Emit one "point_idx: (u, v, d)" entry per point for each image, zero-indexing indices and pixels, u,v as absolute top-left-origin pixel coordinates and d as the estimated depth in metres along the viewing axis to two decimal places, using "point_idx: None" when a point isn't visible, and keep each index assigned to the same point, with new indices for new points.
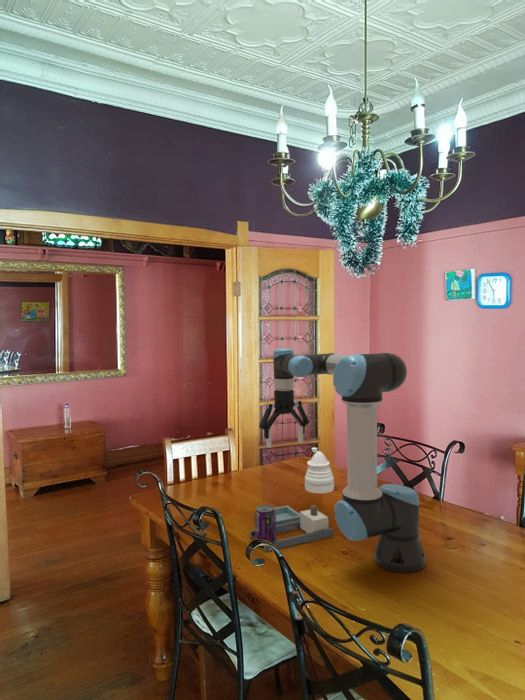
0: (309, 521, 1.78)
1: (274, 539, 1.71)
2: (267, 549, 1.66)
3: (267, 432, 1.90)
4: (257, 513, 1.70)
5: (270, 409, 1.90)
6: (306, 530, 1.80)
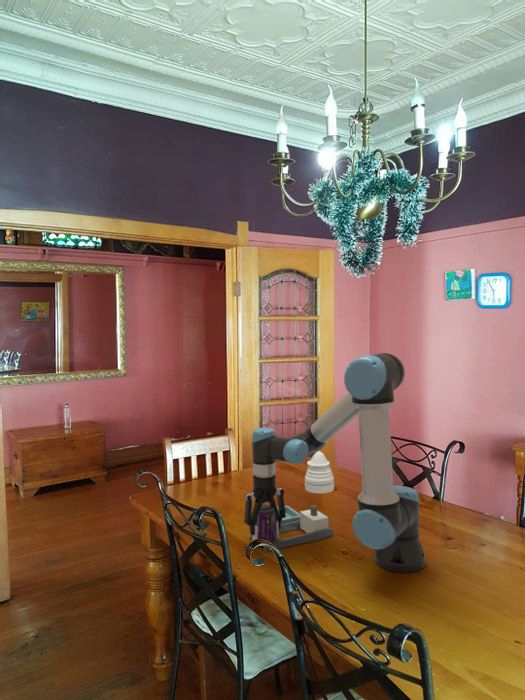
0: (309, 521, 1.78)
1: (274, 539, 1.71)
2: (267, 549, 1.66)
3: (253, 528, 1.70)
4: None
5: (250, 501, 1.68)
6: (306, 530, 1.80)
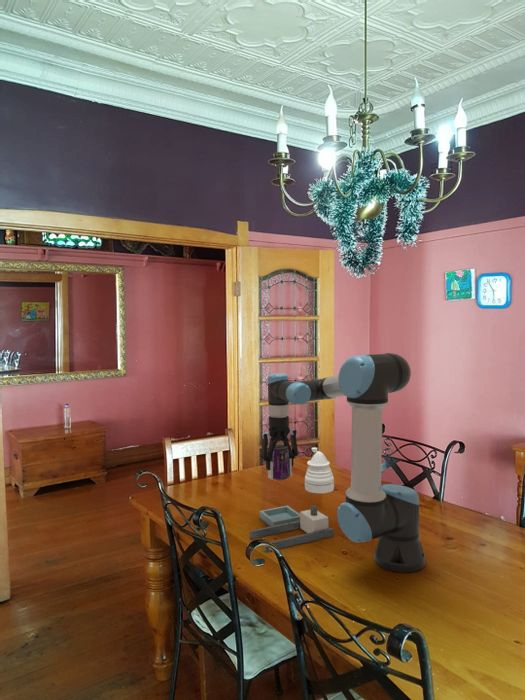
0: (309, 521, 1.78)
1: (288, 474, 1.88)
2: (267, 549, 1.66)
3: (269, 463, 1.87)
4: None
5: (266, 439, 1.85)
6: (306, 530, 1.80)
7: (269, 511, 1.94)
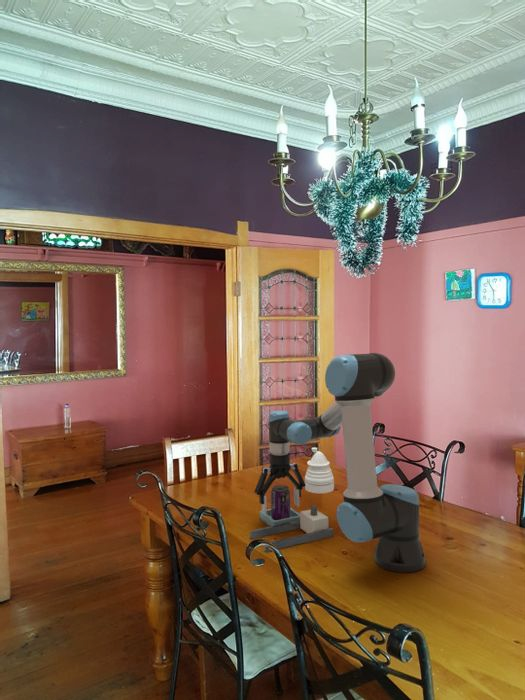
0: (309, 521, 1.78)
1: (288, 515, 1.89)
2: (267, 549, 1.66)
3: (262, 497, 1.87)
4: (273, 492, 1.88)
5: (265, 474, 1.86)
6: (306, 530, 1.80)
7: (269, 511, 1.94)
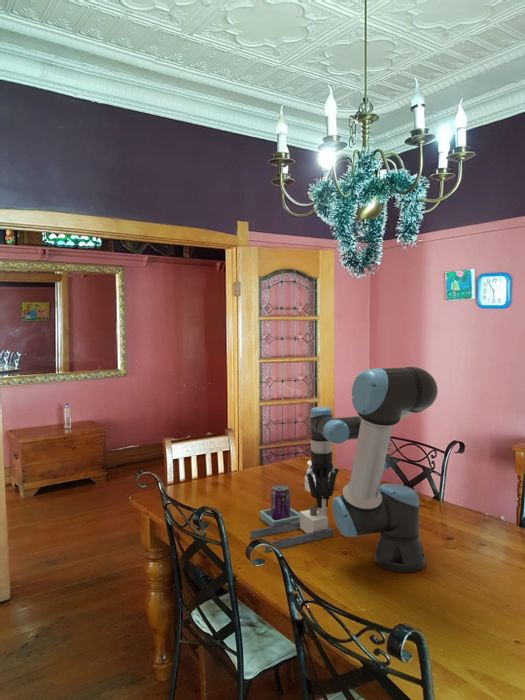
0: (309, 521, 1.77)
1: (288, 515, 1.89)
2: (267, 549, 1.66)
3: (320, 501, 1.81)
4: (273, 492, 1.88)
5: (311, 478, 1.78)
6: (306, 530, 1.80)
7: (269, 511, 1.94)
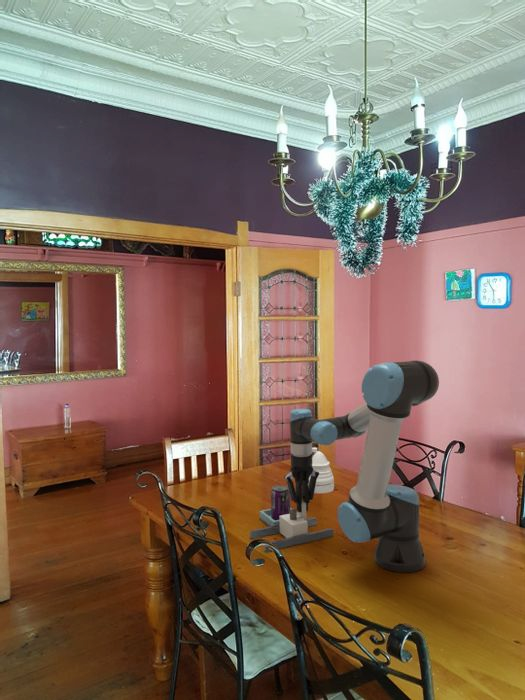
0: (288, 526, 1.74)
1: None
2: (267, 549, 1.66)
3: (300, 505, 1.77)
4: (273, 492, 1.88)
5: (291, 481, 1.75)
6: (285, 535, 1.76)
7: (269, 511, 1.94)
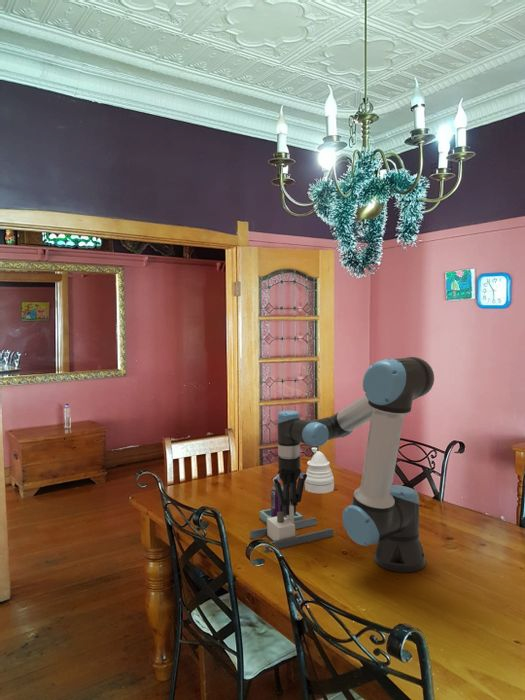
0: (275, 529, 1.72)
1: None
2: (267, 549, 1.66)
3: (288, 508, 1.75)
4: (273, 492, 1.88)
5: (278, 484, 1.73)
6: (272, 538, 1.74)
7: (269, 511, 1.94)
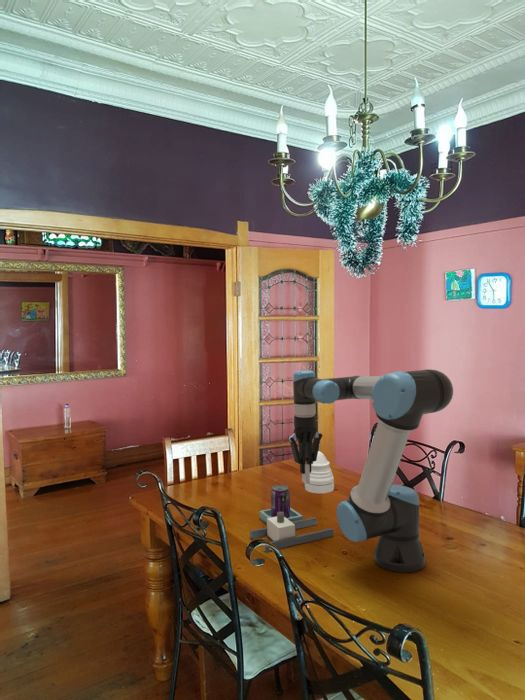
0: (275, 529, 1.72)
1: (288, 515, 1.89)
2: (267, 549, 1.66)
3: (303, 467, 1.77)
4: (273, 492, 1.88)
5: (294, 442, 1.75)
6: (272, 538, 1.74)
7: (269, 511, 1.94)
